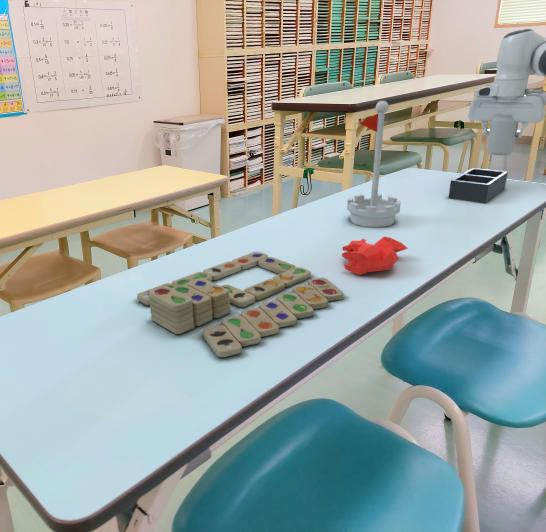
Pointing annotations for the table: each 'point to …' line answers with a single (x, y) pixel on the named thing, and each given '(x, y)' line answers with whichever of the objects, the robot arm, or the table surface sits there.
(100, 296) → the table surface
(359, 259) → the animal figurine
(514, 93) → the robot arm
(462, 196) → the dark grey divided tray
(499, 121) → the can
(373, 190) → the flag stand
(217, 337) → the pile of dominoes
